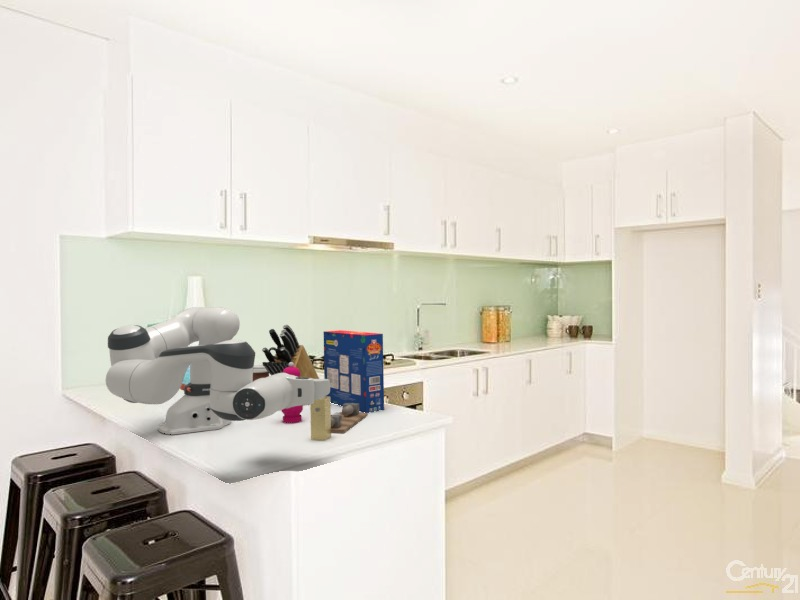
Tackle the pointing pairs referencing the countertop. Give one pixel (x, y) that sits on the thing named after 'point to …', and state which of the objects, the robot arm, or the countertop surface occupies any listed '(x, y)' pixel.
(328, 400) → the block
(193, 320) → the robot arm
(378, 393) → the pasta box
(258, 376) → the coffee cup
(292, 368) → the pepper mill
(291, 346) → the knife block
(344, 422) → the shaft bench
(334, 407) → the countertop surface
